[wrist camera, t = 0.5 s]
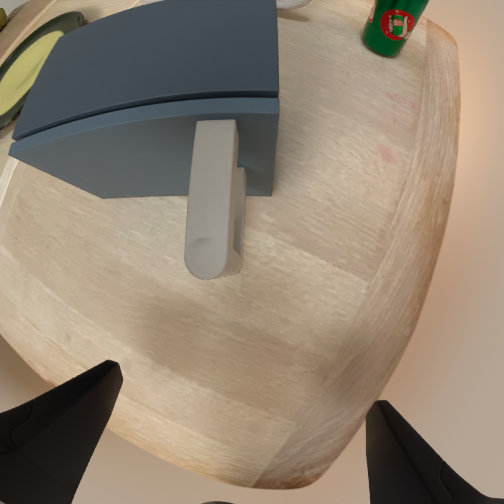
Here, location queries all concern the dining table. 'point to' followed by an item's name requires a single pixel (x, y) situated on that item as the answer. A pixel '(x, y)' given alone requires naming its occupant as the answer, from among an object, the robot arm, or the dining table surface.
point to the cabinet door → (173, 165)
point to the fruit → (2, 18)
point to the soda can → (391, 24)
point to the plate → (30, 63)
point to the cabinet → (156, 61)
